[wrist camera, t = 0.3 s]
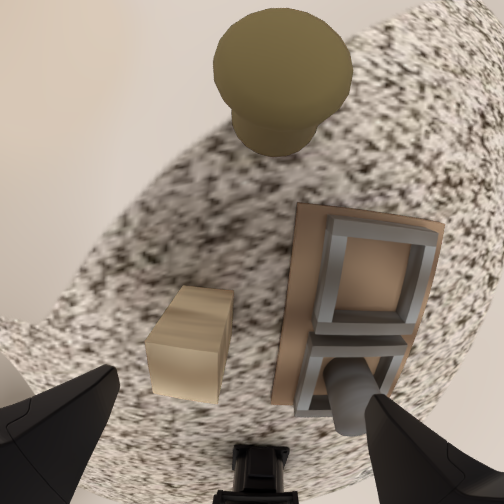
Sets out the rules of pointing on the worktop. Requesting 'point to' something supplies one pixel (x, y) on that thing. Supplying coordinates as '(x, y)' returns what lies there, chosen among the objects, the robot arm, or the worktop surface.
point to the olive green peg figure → (281, 78)
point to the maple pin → (191, 344)
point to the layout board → (351, 309)
